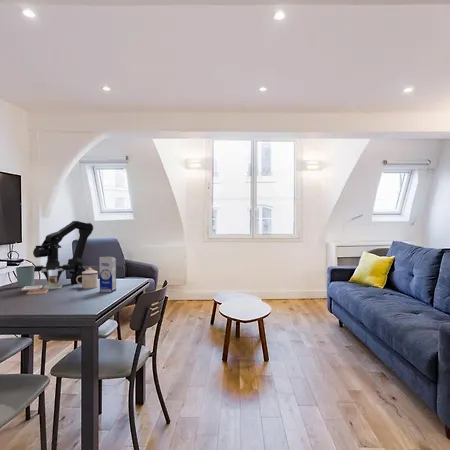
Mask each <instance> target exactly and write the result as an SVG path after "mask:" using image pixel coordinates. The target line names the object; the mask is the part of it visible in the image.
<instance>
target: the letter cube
mask: <svg viewBox="0 0 450 450" xmlns="http://www.w3.org/2000/svg"><path fill="white" fill-rule="evenodd" d="M57 277H58V275H49V277H48V281H47V285H57V284H59V281H58V282H57Z"/></svg>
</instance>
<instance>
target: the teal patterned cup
mask: <svg viewBox="0 0 450 450" xmlns="http://www.w3.org/2000/svg"><path fill="white" fill-rule="evenodd" d="M35 267H36V266H35V265H24V266H16V267H15V272H16V281H17V283H16V284H17V288H24V287H25V286H35V272H34V268H35Z"/></svg>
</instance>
